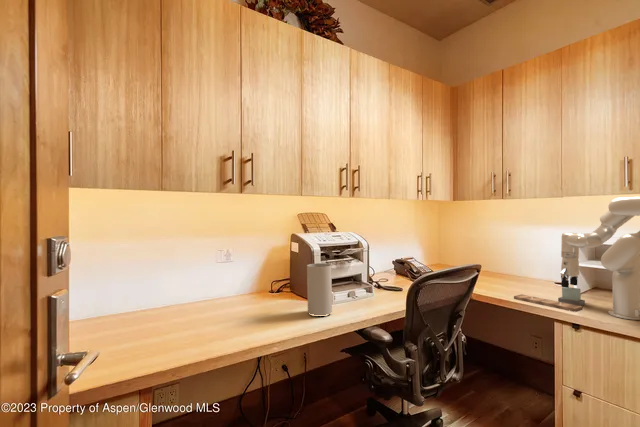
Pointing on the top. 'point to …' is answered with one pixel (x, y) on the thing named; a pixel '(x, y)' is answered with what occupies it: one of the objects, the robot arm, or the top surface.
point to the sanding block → (571, 296)
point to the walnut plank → (548, 302)
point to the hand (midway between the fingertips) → (569, 286)
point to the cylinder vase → (319, 288)
